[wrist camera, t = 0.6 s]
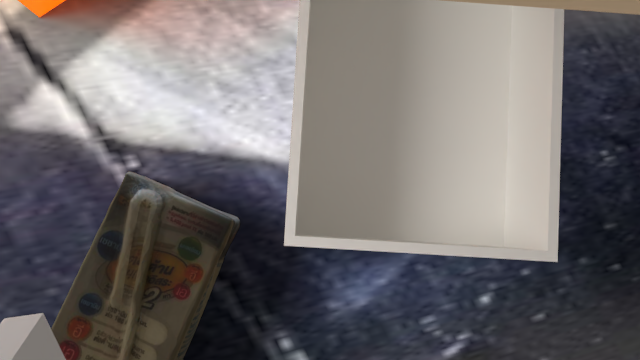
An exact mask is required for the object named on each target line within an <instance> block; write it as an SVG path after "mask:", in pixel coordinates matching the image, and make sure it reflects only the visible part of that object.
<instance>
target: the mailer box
mask: <svg viewBox="0 0 640 360" xmlns="http://www.w3.org/2000/svg"><path fill="white" fill-rule="evenodd" d="M563 41H564V9H554V8H540V7H526V6H512V5H498V4H484V3H469V2H455V1H441V0H300V4H299V20H298V35H297V50H296V66H295V81H294V97H293V112H292V127H291V143H290V158H289V174H288V189H287V204H286V220H285V235H284V246H297V247H314V248H331V249H348V250H364V251H381V252H398V253H415V254H432V255H448V256H465V257H482V258H499V259H516V260H532V261H549V262H558V229H559V191H560V153H561V116H562V78H563Z"/></svg>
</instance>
